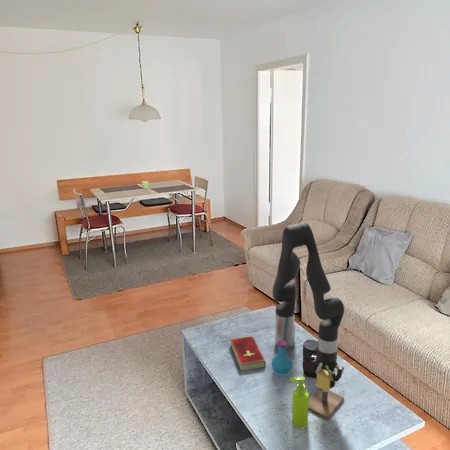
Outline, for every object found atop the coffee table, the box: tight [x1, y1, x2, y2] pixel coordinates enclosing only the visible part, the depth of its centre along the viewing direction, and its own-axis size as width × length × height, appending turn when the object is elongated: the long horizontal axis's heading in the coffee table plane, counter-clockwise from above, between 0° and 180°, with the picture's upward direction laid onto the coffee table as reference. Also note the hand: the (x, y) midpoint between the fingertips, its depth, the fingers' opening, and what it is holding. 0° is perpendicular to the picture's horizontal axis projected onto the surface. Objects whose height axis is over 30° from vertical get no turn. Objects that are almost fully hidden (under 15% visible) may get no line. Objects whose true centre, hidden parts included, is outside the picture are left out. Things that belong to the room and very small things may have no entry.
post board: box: [308, 388, 345, 420], centre depth 163 cm, size 14×10×6 cm
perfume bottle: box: [271, 340, 293, 377], centre depth 181 cm, size 9×9×15 cm
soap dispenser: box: [290, 375, 310, 429], centre depth 152 cm, size 6×7×20 cm
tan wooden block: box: [315, 369, 332, 392], centre depth 160 cm, size 5×5×6 cm
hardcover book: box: [229, 335, 267, 371], centre depth 195 cm, size 12×21×4 cm, turn 12°
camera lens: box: [302, 339, 319, 379], centre depth 179 cm, size 8×8×15 cm
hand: (325, 383), depth 161 cm, fingers closed on tan wooden block, 5 cm apart
